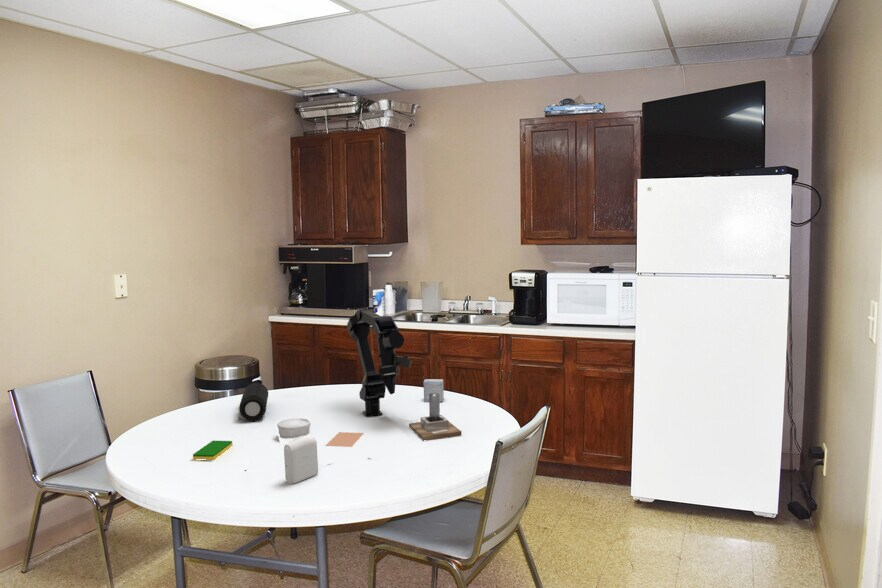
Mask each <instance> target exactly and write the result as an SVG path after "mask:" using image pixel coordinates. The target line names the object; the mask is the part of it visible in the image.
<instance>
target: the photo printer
mask: <svg viewBox="0 0 882 588" xmlns="http://www.w3.org/2000/svg"><path fill="white" fill-rule="evenodd" d="M317 443H318V442H317V439H316V438H315V436H313V435H309V434H306V435H304V436H300V437H294V438H293V439H291V440H290V441H288V442H287V443H285V444H284V447H283V456H284V457H283V459H284V471H285V472H284V474H285V481H286V483H288V484H290V485H293V484H296V483H299V482H302V481H304V480H307V479H309V478H311V477H314V476H316V475H318V474H319V460H318V459H319V458H318V445H317Z"/></svg>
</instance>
